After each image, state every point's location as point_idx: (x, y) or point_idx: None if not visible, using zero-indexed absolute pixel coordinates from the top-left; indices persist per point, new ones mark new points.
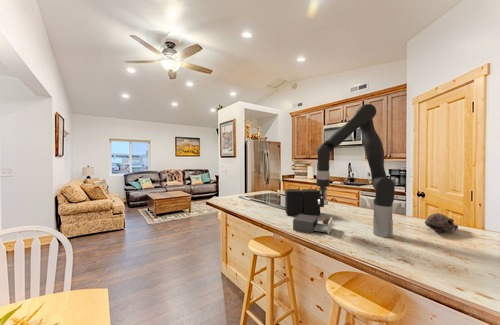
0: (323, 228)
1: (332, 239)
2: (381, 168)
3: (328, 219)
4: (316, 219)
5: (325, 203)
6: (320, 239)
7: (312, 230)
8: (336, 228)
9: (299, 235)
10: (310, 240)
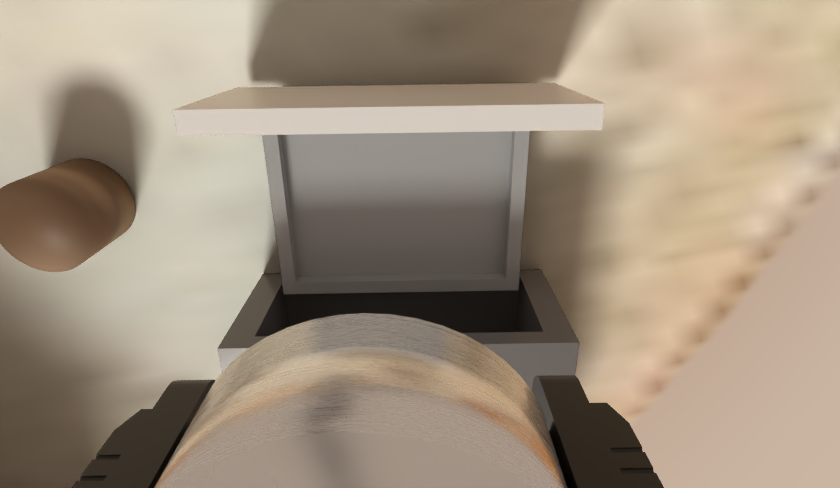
0: (423, 184)
1: (674, 18)
2: None
3: (55, 183)
4: (263, 331)
5: (533, 414)
6: (713, 155)
7: (547, 288)
8: (210, 27)
9: (657, 366)
10: (770, 245)
